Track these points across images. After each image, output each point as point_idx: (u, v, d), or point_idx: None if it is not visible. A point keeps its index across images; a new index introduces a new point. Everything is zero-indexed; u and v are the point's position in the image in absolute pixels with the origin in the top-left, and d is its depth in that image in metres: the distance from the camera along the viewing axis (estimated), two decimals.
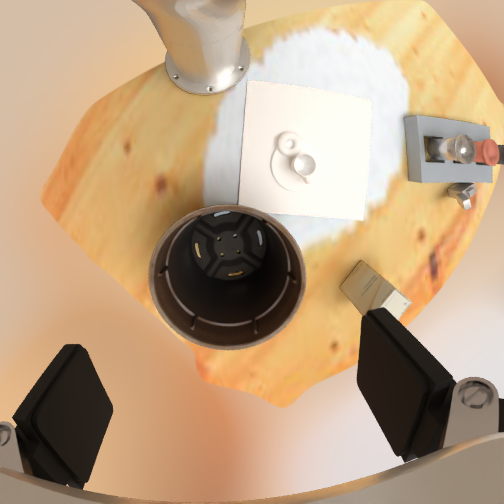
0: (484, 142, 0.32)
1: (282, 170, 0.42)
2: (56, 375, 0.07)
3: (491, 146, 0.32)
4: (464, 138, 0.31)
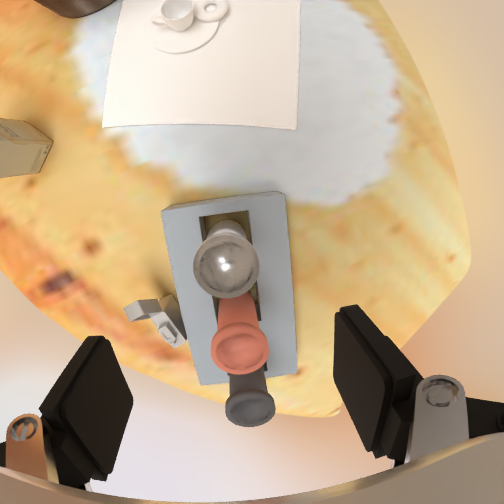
0: (256, 329, 0.21)
1: None
2: (82, 366, 0.07)
3: (252, 350, 0.21)
4: (249, 260, 0.19)
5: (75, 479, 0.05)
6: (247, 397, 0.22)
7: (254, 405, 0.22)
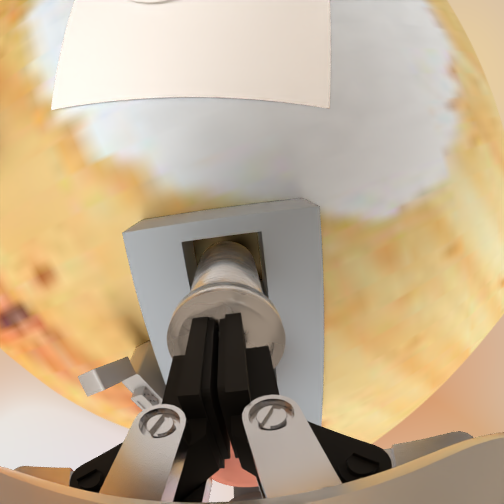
0: None
1: None
2: (204, 346, 0.08)
3: None
4: (268, 333, 0.10)
5: (207, 470, 0.06)
6: None
7: None
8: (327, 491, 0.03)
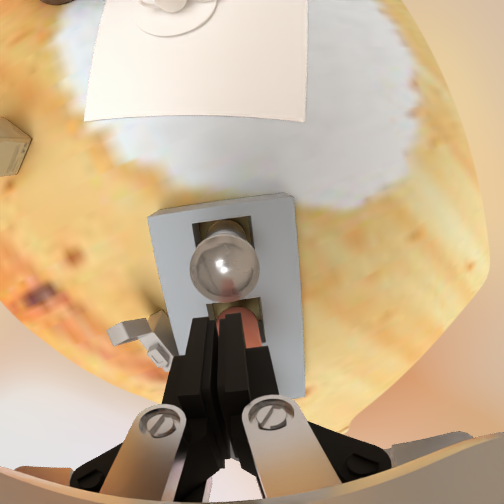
0: None
1: None
2: (204, 346, 0.08)
3: None
4: (249, 262, 0.18)
5: (207, 470, 0.06)
6: None
7: None
8: (327, 491, 0.03)
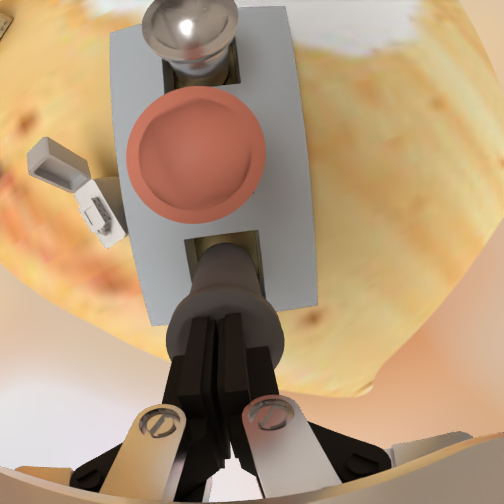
0: None
1: None
2: (204, 346, 0.08)
3: (225, 146, 0.08)
4: (223, 8, 0.09)
5: (207, 470, 0.06)
6: (215, 302, 0.10)
7: None
8: (327, 491, 0.03)
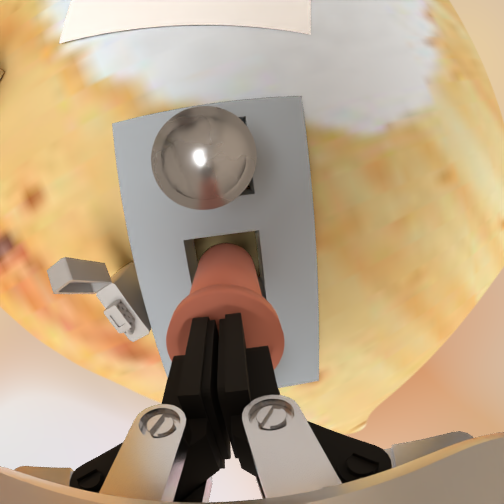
0: (260, 299, 0.10)
1: None
2: (204, 346, 0.08)
3: (251, 342, 0.10)
4: (240, 145, 0.11)
5: (207, 470, 0.06)
6: None
7: None
8: (327, 491, 0.03)
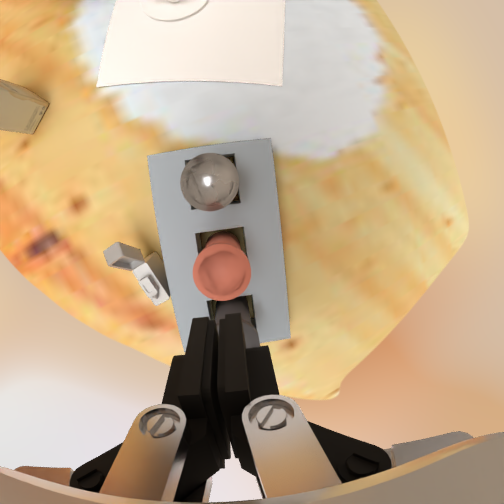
0: (238, 249, 0.21)
1: None
2: (204, 346, 0.08)
3: (234, 271, 0.21)
4: (230, 175, 0.21)
5: (207, 470, 0.06)
6: None
7: None
8: (327, 491, 0.03)
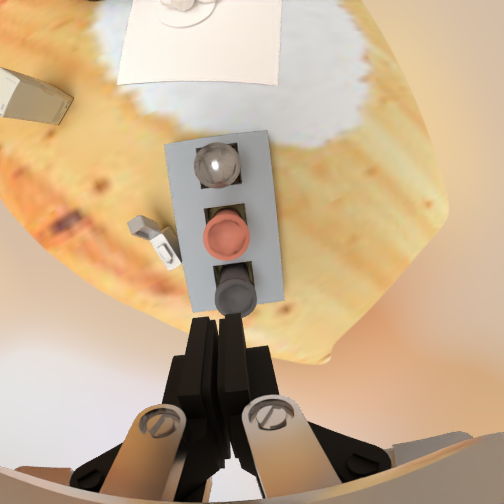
0: (240, 218, 0.27)
1: None
2: (204, 346, 0.08)
3: (236, 235, 0.27)
4: (233, 160, 0.26)
5: (207, 470, 0.06)
6: (233, 283, 0.29)
7: (239, 292, 0.29)
8: (327, 491, 0.03)
